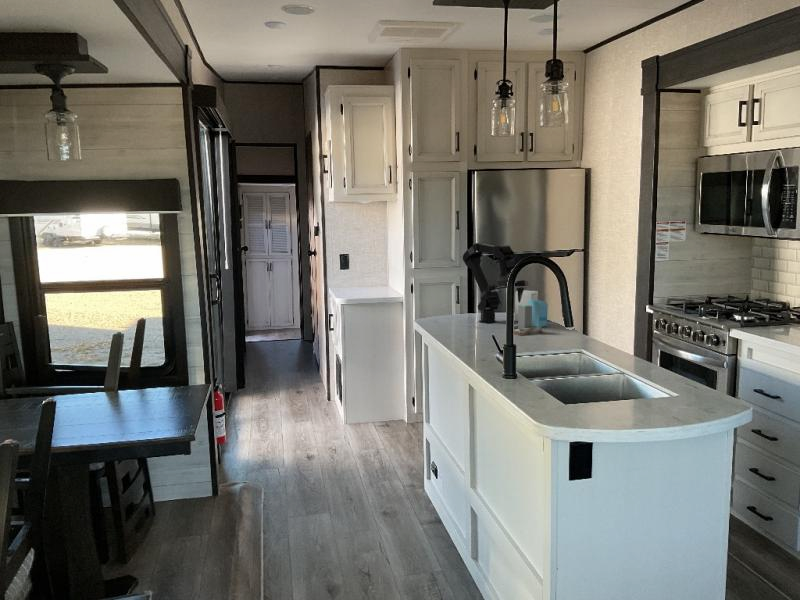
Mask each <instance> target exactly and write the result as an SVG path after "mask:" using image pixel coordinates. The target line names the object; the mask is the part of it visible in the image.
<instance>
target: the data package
mask: <svg viewBox="0 0 800 600" xmlns="http://www.w3.org/2000/svg"><path fill="white" fill-rule="evenodd" d="M528 305H531V306H532V326H533V327H542V328H546V327H547V326H548V303H547V302H546V301H544V300H540V299H538V300H529V301H528Z"/></svg>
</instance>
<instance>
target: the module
mask: <svg viewBox="0 0 800 600" xmlns="http://www.w3.org/2000/svg"><path fill="white" fill-rule="evenodd" d="M517 325H518V329H524V328H533V327H532V326H533V325H532V306H531V305H527V304H521V305H518V321H517Z"/></svg>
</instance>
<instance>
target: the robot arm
mask: <svg viewBox="0 0 800 600" xmlns="http://www.w3.org/2000/svg"><path fill="white" fill-rule="evenodd" d="M483 253H487V254H492V256H494V257H496V258H497V260H496V261H495V264H498V269H499V274H498V275H499V277H498V278H497V280H496V283H497V284H489V282H488V281H487V278H486V275H485V274H484V271H483V269H482V267H481V262H482V259H481V258H482V256H483ZM522 259H523V258H522V257H521V255H520V253H515V252H514V251H513V249H512V248H511V246H510V245H509V244H506V245H493V244H488V243H483V242H475V243H474V244H473V245H472V246H471V247H469V248H468V249H467V250H466V251H464V253H463V255H462V261H463V262H464V264H465V266H467V268H468V269H469V270H471V272H472V275H473V278H474V279H475V282H476V284H477V286H478V289H479V292H480V293H481V294H480V302H479V303H478V304H477V310H478V311H480V319H479V320H478V322H479V323H484V324H491V323H497V320H496V313H495V311H497V310H498V308H499V306H502V305H503V301H502V293H501V290H502V289H508V288H507V282H508V278H509V275H510V273H511V271H512V272H513V270H512V269H513V268H514V267H515V265H516V264H517V263H518V262H519V261H520V260H522ZM514 283H515V287H516V292H517V291H518V302H519V303H520V301H521V297H522V294H523V291H524V290H526V288H527V287H529V281H528V280H527V279H524V280H523V279H522V280H518V281H517V280H516V282H514ZM515 287H514V288H515Z"/></svg>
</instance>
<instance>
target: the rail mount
mask: <svg viewBox="0 0 800 600" xmlns="http://www.w3.org/2000/svg"><path fill="white" fill-rule="evenodd" d="M542 328H543V327H535V326H533V327H532V328H524V329H518V324H514V334H513V335H516V336H527V335H537V334H543V333H544V331H543V330H542Z"/></svg>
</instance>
